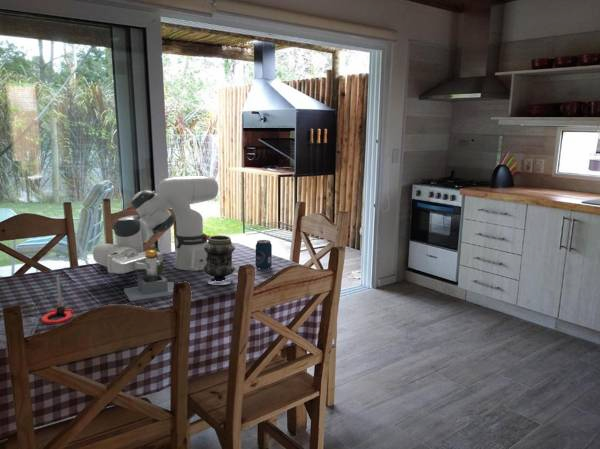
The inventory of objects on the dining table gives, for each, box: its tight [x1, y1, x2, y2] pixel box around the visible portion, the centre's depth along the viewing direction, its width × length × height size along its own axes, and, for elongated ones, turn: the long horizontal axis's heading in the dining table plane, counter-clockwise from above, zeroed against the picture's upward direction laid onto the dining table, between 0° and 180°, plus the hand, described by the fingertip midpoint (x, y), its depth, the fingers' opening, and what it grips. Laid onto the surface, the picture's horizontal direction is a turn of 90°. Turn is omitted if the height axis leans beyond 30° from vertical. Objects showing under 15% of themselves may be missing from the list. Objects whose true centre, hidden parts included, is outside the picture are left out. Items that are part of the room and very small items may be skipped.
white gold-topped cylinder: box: [144, 249, 158, 282], centre depth 175 cm, size 4×4×12 cm
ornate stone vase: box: [203, 234, 236, 281], centre depth 189 cm, size 12×12×18 cm
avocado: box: [143, 246, 164, 275], centre depth 195 cm, size 8×8×12 cm
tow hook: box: [41, 274, 74, 325], centre depth 150 cm, size 8×13×9 cm
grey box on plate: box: [123, 273, 175, 302], centre depth 176 cm, size 18×11×5 cm, turn 120°
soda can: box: [255, 239, 273, 269], centre depth 210 cm, size 7×7×12 cm
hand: (153, 264), depth 174 cm, fingers closed on white gold-topped cylinder, 4 cm apart
